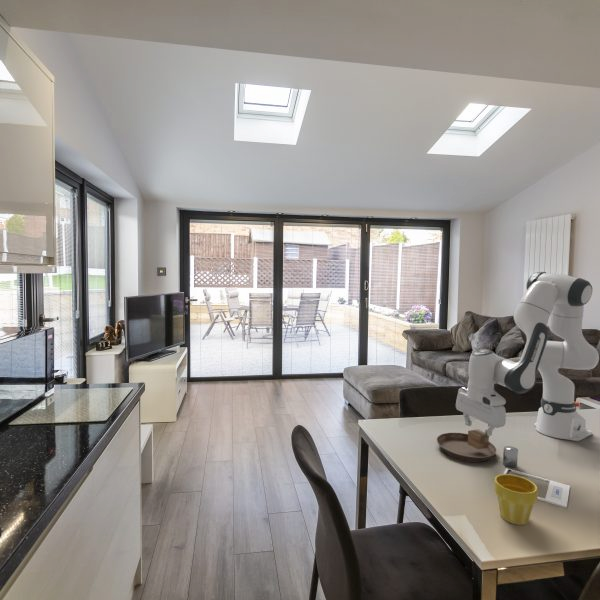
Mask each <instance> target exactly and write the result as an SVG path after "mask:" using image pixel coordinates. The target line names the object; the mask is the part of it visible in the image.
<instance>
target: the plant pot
mask: <svg viewBox="0 0 600 600" xmlns="http://www.w3.org/2000/svg"><path fill="white" fill-rule="evenodd" d="M493 488H494V489H493V490H494V493H495V494H496V496H497V502H498V506H499V507H498V508H499V513H500V516H501V518H502V519H503V520H505V521H506V522H508V523H510V524H514V525H520V526H522V525H527V524H528V523H529V520H530V516H531V514H532V510H533V507H534V505H535V504H536V503H537V501H538V499H537V497H538V494H539V493H538V486H537V484H535V483H534V482H533V481H531V480H530V479H528V478H525V477H523V476H520V475H515V474H510V473H506V474H504V473H501V474H498V475H496V476H495V478H494V486H493Z"/></svg>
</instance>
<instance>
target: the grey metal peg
mask: <svg viewBox="0 0 600 600" xmlns="http://www.w3.org/2000/svg"><path fill="white" fill-rule="evenodd" d="M518 455H519V448H516V447H514V446H512V445H511V446H510V445H505V446H503V453H502V457H503V458H502V465H503V466H504V467H505V468H508V469H517V468H518V459H519V457H518Z"/></svg>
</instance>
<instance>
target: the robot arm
mask: <svg viewBox="0 0 600 600" xmlns="http://www.w3.org/2000/svg"><path fill="white" fill-rule="evenodd" d="M525 287H526V291H525V293H523V295H522V297H521V299H520V300H519V302H518V304H517V305H516V308H515V310H514V313H513V320H514V321H513V322H514V323H515V325H516V326H517V328H519V330H521V331H522V332H523V333H524V334H525V336H526V342H525V345H524V349H523V350H522V354H521V355H520V356H521V357H520V359H519V360H518V361H517V362H515V361H513V360H510V359H508V358H504V357H503V356H499V355H498V354H496V353H495V352H494V351H493V350H491V349H485V348H484V349H483V348H482V349H475V350H474V351H472V352H471V354H470V356H469V362H468V368H467V369H468V372H467V374H468V382H467V387H463V386H461V387H460V388H458V391H457V396H456V400H455V401H456V402H455V408H456V410H457V411H459V412H461V413H463V414H462V415H463V418H464V421H465V423H464V425H465V426H468V427H470V426H472V423H473V421H472V419H471V417H472V418H474V419H476V420H479V421H480V422H483V423H485V424H487V427H488V429H485V430H484V432H485V434H486V435H488V436H489V437H490V436H492V435H493V431H494V430H495V429H499V428H503V427H504V426H505V425H506V420H507V418H506V417H507V414H506V413H507V411H506V408H505V406H504V405H506V403H507V400H506V399H505V398H504V397H503V396H502V395H500V394H499V393H498V392H497V391H496V390H495V386H494V385H495V384H498V385H500V386H502V387H505V388H507V389H508V390H510V391H513V392H514V393H516V394H519V395H520V394H525V393H528V392H530V391H531V390H532V389H533V388H534V386H535V385H536V381H537V374H538V372H539V373H540V376H541V378H542V397H541V400H540V407H539V408H538V412H537V417H536V422H534V424H533V426H535V429H536V431H537V432H539V433H541V434H543V435H545V436H548V437H551V438H556V439H561V440H569V441H573V442H579V441H581V440H583V439H586V438H587V437H588V438H589V436H591V435H593V432H592V431H591V430H589V429H588V428H586V424H587V423H586V419H585V418H584V417H583V416H582V415H581V414H580V413H579V412H578V411H577V408H579V407H580V406H581V403H580V402H577V401H576V400H575V388H576V387H575V384H574V382H573V381H572V380H571V379H570V378H568V377H566V376H565V375H562V374H561V373H560V372H559V369H570V370H579V371H582V370H583V371H585V370H587V371H588V370H593V369H594V368H596V366H598V364H599V361H600V355H599V352H598V350H597V348H595V347H594V346H593V345H592V344H590V343H589V342H588V341H587V340H586V338H585V336H584V335H583V317H584V307H585V306H584V305H586V304H587V303H588V302H589V301H590V299H591V297H592V295H593V286H592V284H591V282H590V281H588V280H587V279H583V278H581V277H579V278H578V277H574V276H571V275H568V274H562V273H560V274H559V273H553V272H546V271H537V272H534V273H533V274H531V275H530V276H529V278H527V281H526V286H525ZM549 330H550V331H549ZM550 332H551V333H552V334H554V335H555V336H556V337H559V338H561V339H562V340H564V341H557V340H548V339H549V333H550ZM574 400H575V401H574Z"/></svg>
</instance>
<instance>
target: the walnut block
mask: <svg viewBox="0 0 600 600" xmlns="http://www.w3.org/2000/svg"><path fill="white" fill-rule="evenodd" d="M467 434H468V444H469V445H471V446H473V447H475V448H476V449H483V448H488V445H489V442H490V441H489V440H490V436H488V435H486V434H485V431H483V430H481V429H480V428H479V429H478V428H477V429H471V430H468V431H467Z"/></svg>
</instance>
